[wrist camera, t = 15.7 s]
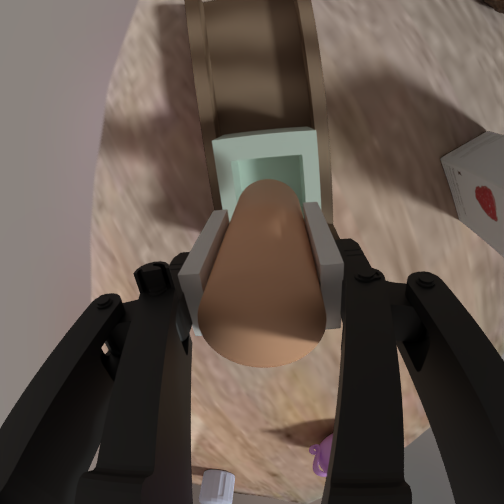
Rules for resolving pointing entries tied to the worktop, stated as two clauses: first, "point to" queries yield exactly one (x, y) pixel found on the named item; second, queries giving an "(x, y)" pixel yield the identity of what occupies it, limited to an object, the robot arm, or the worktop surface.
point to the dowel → (264, 283)
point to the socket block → (268, 162)
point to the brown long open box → (258, 76)
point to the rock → (496, 5)
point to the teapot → (322, 455)
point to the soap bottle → (217, 487)
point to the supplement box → (479, 186)
